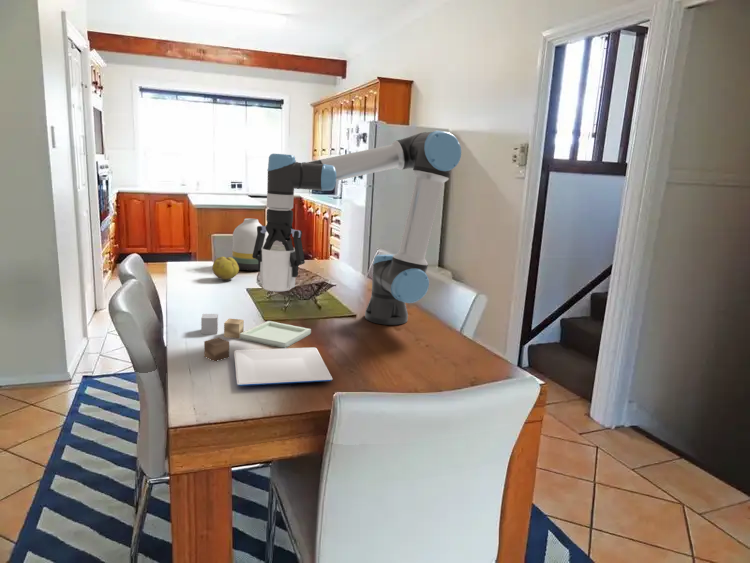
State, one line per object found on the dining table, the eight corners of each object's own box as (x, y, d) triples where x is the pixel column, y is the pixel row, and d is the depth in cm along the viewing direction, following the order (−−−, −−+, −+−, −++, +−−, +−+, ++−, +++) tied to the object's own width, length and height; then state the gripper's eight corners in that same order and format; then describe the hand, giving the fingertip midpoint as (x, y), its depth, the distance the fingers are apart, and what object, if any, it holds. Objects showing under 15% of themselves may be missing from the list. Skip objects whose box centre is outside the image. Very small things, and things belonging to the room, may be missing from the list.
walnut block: (229, 357, 139) (229, 341, 138) (214, 362, 136) (214, 345, 135) (218, 353, 142) (218, 337, 141) (204, 357, 138) (204, 341, 137)
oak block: (243, 333, 159) (243, 319, 158) (239, 338, 155) (239, 324, 154) (228, 332, 159) (228, 318, 158) (224, 337, 155) (224, 322, 154)
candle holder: (275, 293, 149) (277, 252, 146) (253, 287, 154) (254, 247, 152) (300, 289, 156) (302, 249, 154) (278, 282, 162) (279, 244, 159)
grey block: (218, 329, 161) (218, 313, 160) (217, 334, 157) (217, 318, 156) (202, 329, 160) (202, 313, 159) (201, 334, 156) (201, 318, 155)
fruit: (205, 279, 224) (205, 256, 222) (227, 275, 234) (227, 254, 232) (222, 284, 218) (222, 260, 216) (244, 280, 228) (244, 257, 226)
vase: (275, 270, 252) (276, 220, 247) (245, 274, 240) (245, 222, 235) (255, 264, 263) (256, 216, 258) (225, 267, 251) (225, 217, 246)
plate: (332, 386, 126) (333, 378, 126) (236, 392, 120) (237, 383, 119) (316, 353, 147) (316, 346, 147) (233, 356, 140) (233, 349, 140)
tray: (310, 333, 163) (311, 329, 163) (285, 348, 149) (285, 343, 148) (268, 325, 168) (268, 320, 168) (239, 338, 154) (239, 333, 154)
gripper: (319, 212, 150) (315, 288, 155) (255, 204, 157) (253, 277, 162) (306, 213, 143) (303, 293, 148) (240, 205, 151) (239, 282, 155)
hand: (277, 285), depth 155 cm, fingers closed on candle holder, 9 cm apart
